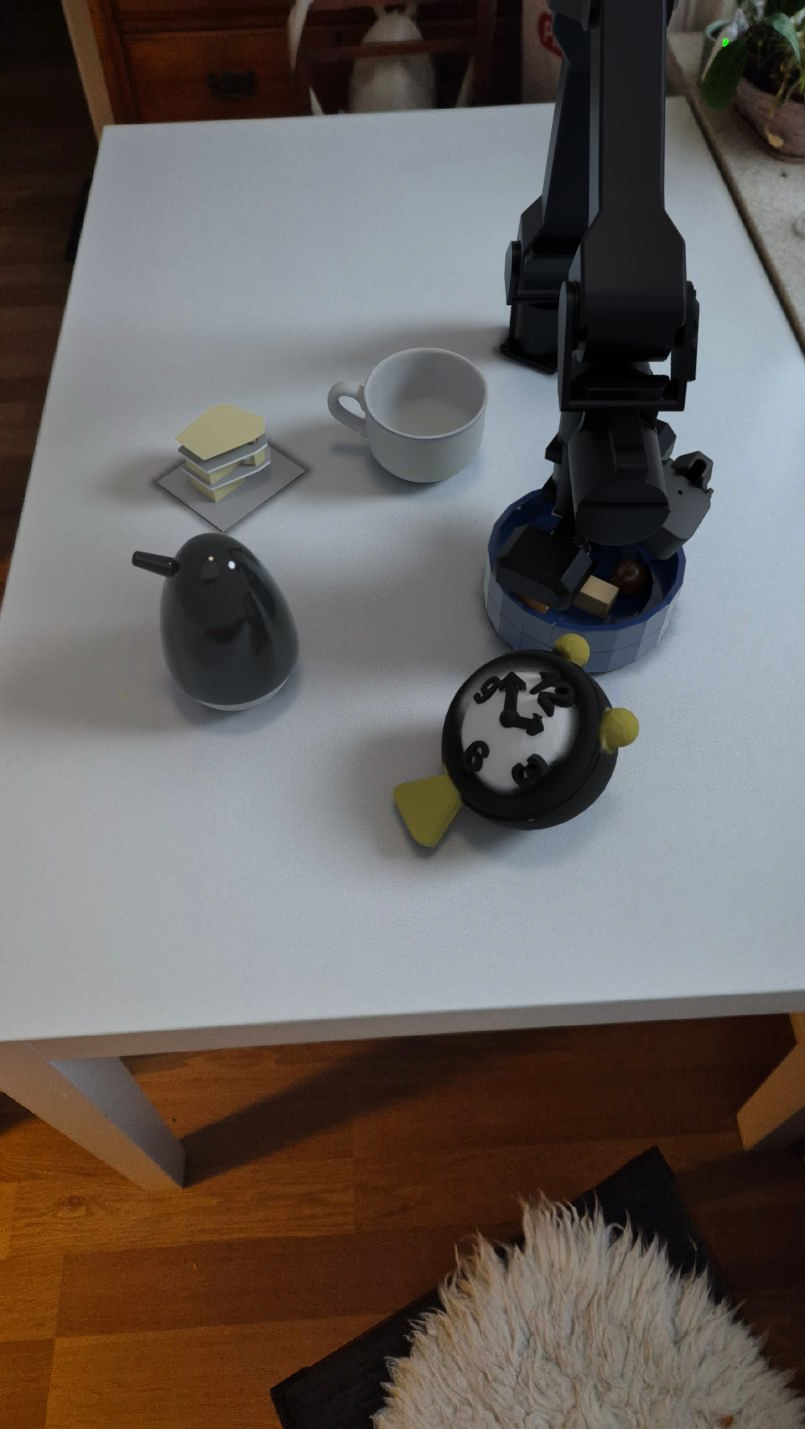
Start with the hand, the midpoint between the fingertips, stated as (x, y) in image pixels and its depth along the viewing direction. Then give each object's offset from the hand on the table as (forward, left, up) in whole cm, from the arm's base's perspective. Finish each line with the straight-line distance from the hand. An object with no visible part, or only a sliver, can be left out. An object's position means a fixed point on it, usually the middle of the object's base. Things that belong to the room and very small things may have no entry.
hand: (574, 571), depth 83 cm
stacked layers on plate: (-32, -5, -2) cm, 32 cm away
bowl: (+1, -1, -2) cm, 2 cm away
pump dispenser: (-18, -22, -2) cm, 29 cm away
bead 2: (+4, +1, 0) cm, 4 cm away
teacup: (-20, +6, -2) cm, 21 cm away
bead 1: (-1, -5, 0) cm, 5 cm away
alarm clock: (+5, -19, -2) cm, 20 cm away
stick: (0, -1, -1) cm, 2 cm away
